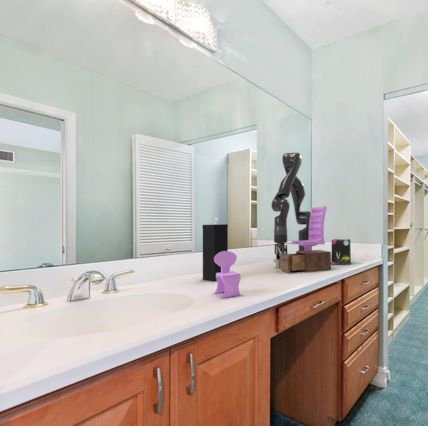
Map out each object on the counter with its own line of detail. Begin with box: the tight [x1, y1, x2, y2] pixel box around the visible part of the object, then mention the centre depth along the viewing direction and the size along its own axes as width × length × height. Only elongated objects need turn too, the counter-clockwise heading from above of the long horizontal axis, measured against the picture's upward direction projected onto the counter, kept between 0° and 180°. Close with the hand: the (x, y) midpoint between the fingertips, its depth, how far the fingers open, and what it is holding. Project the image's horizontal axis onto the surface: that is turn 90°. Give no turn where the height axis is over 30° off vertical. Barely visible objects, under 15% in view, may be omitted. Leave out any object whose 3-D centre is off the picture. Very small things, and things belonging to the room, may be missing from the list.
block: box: [275, 258, 280, 269], centre depth 158 cm, size 4×4×4 cm
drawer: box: [273, 252, 306, 273], centre depth 145 cm, size 18×11×8 cm, turn 115°
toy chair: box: [214, 250, 241, 299], centre depth 99 cm, size 8×9×15 cm
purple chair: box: [291, 205, 328, 251], centre depth 170 cm, size 15×17×35 cm
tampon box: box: [330, 238, 352, 266], centre depth 171 cm, size 11×9×15 cm
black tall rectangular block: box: [202, 216, 229, 282], centre depth 127 cm, size 8×8×28 cm
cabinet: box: [295, 249, 332, 273], centre depth 150 cm, size 15×13×10 cm
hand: (280, 262), depth 158 cm, fingers open, 8 cm apart
